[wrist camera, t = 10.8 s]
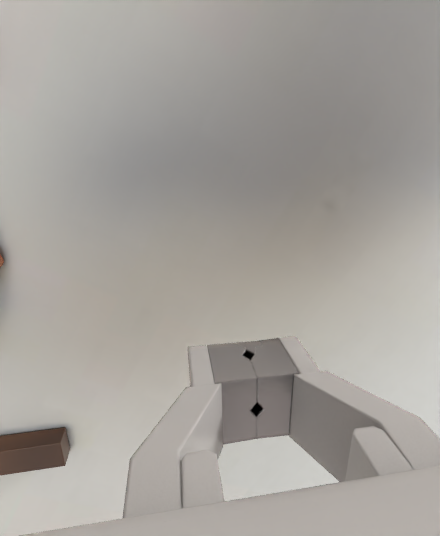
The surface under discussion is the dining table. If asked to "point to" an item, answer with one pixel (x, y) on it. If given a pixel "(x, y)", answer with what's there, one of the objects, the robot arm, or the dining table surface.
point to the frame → (33, 451)
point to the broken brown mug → (1, 260)
